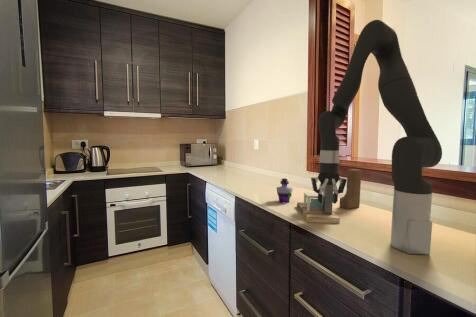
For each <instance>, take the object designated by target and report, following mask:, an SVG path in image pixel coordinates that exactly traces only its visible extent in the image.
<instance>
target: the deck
mask: <svg viewBox="0 0 476 317" xmlns="http://www.w3.org/2000/svg"><path fill="white" fill-rule="evenodd" d="M296 206H297V208H298V210H299V212H301V214H302V215H303V217H304V218H305V220H306V221H307V222H308V223H314V222H315V223H321V224H323V223H324V224H340V222H341V220H340V219H341V218H340V217H339V216H338V215H337V214H336V213H334V211H332V214H324V213H323V212H322V211H307V203H306V207H304V202H303V201H302V202H297V203H296Z"/></svg>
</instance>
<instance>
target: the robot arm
mask: <svg viewBox="0 0 476 317" xmlns="http://www.w3.org/2000/svg"><path fill="white" fill-rule="evenodd" d="M400 47H401V46H400V42H399V38H398V34H397V32H396V30H395V29H394V27H391V25H389V24H387V23H386V22H384V21H382V20H381V19H374V20H371V21H369V22H367V23H366V24H365V26H364V27H363V28H362V30H361V31H360V34H359V35H358V37H357V40H356V44H355V46H354V48H353V52H352V54H351V56H350V60H349V62H348V64H347V65H348V66H347V68H346V71H345V74H343V75H344V76H343V78H342V80H341V82H340V84H339V86H338V87H337V89H336V91H335V92H334V95H333V97H332V99H331V103H332V104H333V105H332V108H331V110H326V111H323V112H322V113H321V114H320V115H319V117H318V132H319V136H320V152H319V161H318V162H319V164H318V166H319V167H318V175H317V176H315V177H310V181H311V186H312V190H313V191H314V192H316V193H318V198H317V199H318V201H319V202H320V203H322V199H323V194H322V193H323V190H324V189H325V187H326V185H333V204H334V205H335V204H337V203H338V202H339V201H338V200H339V198H338V197H339V194H343V193H344V191H345V187H346V185H347V178H345V177H340V174H339V173H340V137H339V136H338V135H337V131H336V130H338V129H339V128H340V127H341V126H342V125H343V124H344V122H345V121H346V117H347V115H348V112H349V108H350V106H351V104H352V102H353V101H354V99H355V98H356V96H357V95H358V93H359V90H360V87H361V84H362V78H363V72H364V68H365V64H366V62H367V60H368V58H369V56H370V54H372V55H373V57H374V58H375V61H376V62H377V65H378V67H379V76H378V82H377V86H378V87H377V88H378V93H379V95H380V98H381V102H382V104H383V106H384V107H385V109H386V111H387V112H389V114H391V116H392V117H393V118H394V119H395V120H396V121H397V122H398V123H399V124H400V126H401V127H402V128H403V131H404V132H405V135H406V136H403V137H400V138H399V139H397V140H396V141H395V142H394V144H393V147H392V151H391V178H392V182H393V198H392V214H391V230H390V232H391V233H390V245H391V246H392V247H393V248H395V249H396V250H398V251H401V252H404V253H406V254H410V255H430V254H431V245H432V244H431V243H432V230H433V221H431V215H432V214H431V213H432V202H433V201H432V199H433V187H434V186H433V183H432V182H430V181H428V180H426V179H425V178H424V176H423V169H426V168H427V169H428V168H429V169H430V168H433V167H435V166H437V165H438V164H440V162H441V160H442V157H443V148H442V145H441V143H440V140H439V139H438V137H437V135H436V133H435V131H434V129H433V128H432V126H431V124H430V122H429V120H428V118H427V115H426V113H425V111H424V109H423V106H422V103H421V101H420V99H419V96H418V93H417V89H416V87H415V84H414V82H413V79H412V77H411V75H410V72H409V70H408V67H407V65H406V63H405V61H404V58H403V56H402V52H401V48H400ZM318 182H320V184H319V186H317V183H318ZM337 183H339V186H337Z"/></svg>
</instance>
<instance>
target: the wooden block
mask: <svg viewBox="0 0 476 317" xmlns="http://www.w3.org/2000/svg"><path fill="white" fill-rule="evenodd" d="M346 174H347V175H346V180H347V181H346V191H345V194H344V196H342V197H340V198H339V208H341V209H345V210H351V209H356V208H360V205H361V202H360V201H361V184H362V170H361V169H356V168H351V169H347V172H346Z"/></svg>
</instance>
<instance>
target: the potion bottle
mask: <svg viewBox="0 0 476 317" xmlns="http://www.w3.org/2000/svg"><path fill="white" fill-rule="evenodd" d="M280 184H281V186H277V187H276V193H277V196H278V202H279V201H280V202H279V203H281V202H286V203H285V204H288V203H290V200H291V198H292V194H293V193H292V192H293V187H289V186H288V185H289V180H288V178H281V180H280Z"/></svg>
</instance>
